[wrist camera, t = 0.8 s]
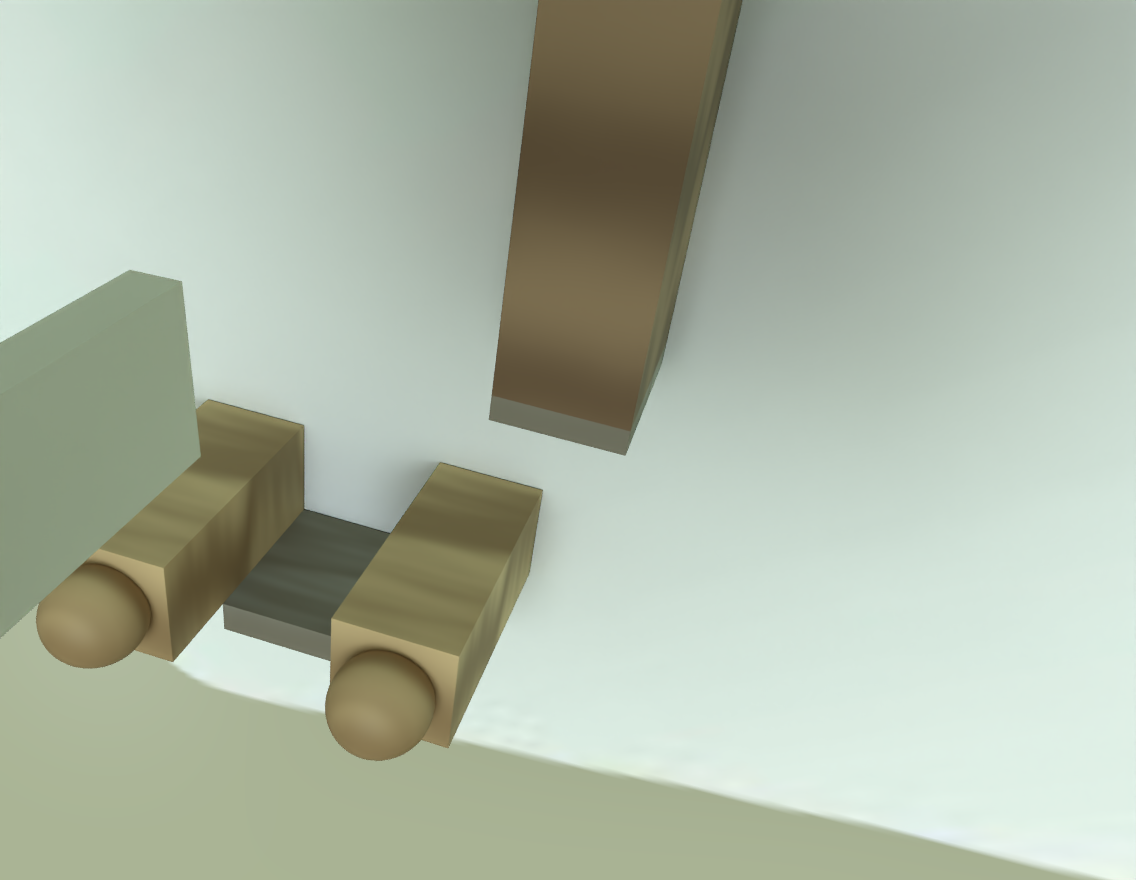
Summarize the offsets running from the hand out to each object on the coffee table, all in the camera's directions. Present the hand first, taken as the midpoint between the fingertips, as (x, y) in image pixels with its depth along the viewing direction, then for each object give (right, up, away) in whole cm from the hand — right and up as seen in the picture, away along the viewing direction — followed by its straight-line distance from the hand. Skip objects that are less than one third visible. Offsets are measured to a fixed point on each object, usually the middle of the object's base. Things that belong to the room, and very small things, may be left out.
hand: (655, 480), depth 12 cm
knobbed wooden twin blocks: (-9, -1, +26) cm, 27 cm away
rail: (+1, +10, +16) cm, 19 cm away
